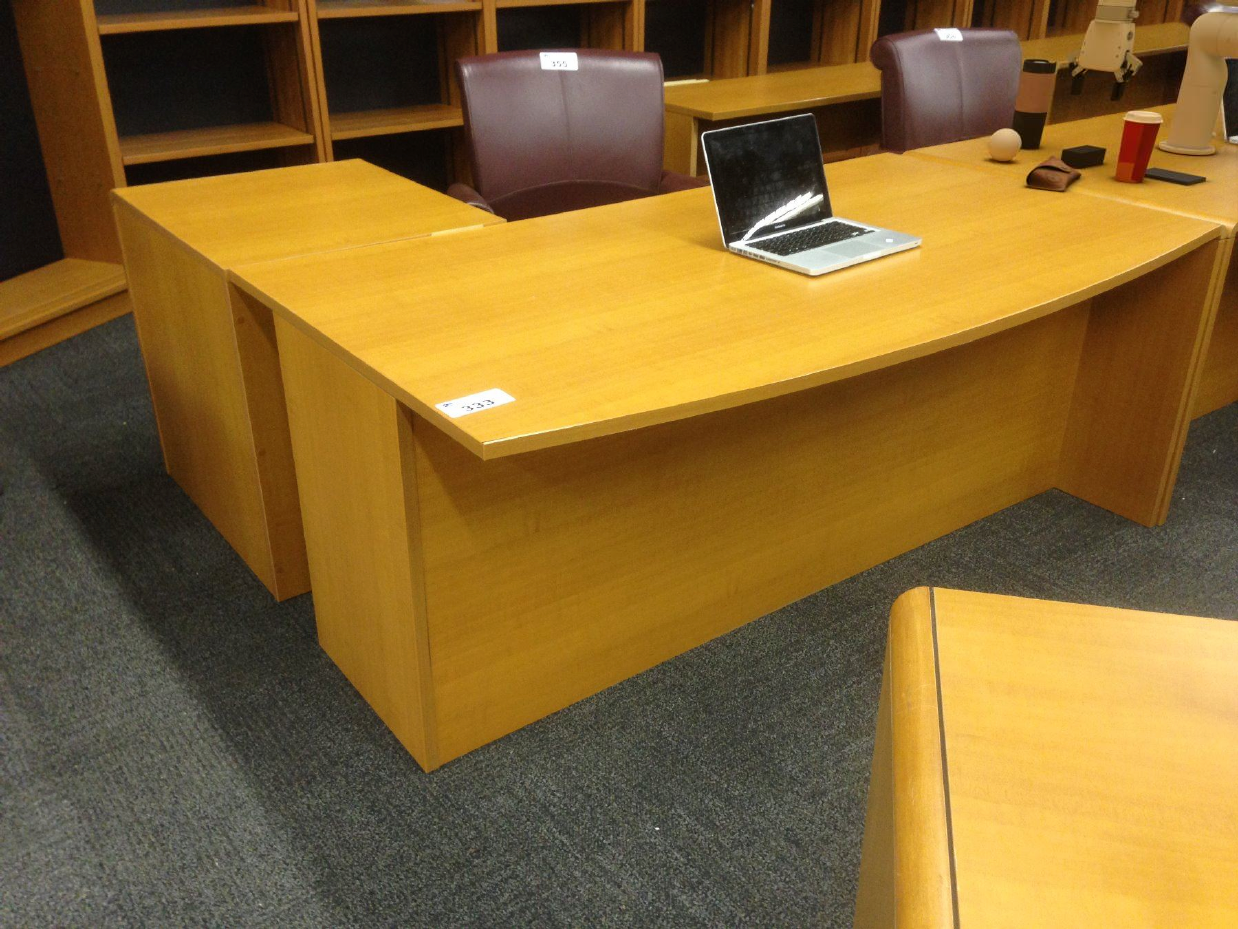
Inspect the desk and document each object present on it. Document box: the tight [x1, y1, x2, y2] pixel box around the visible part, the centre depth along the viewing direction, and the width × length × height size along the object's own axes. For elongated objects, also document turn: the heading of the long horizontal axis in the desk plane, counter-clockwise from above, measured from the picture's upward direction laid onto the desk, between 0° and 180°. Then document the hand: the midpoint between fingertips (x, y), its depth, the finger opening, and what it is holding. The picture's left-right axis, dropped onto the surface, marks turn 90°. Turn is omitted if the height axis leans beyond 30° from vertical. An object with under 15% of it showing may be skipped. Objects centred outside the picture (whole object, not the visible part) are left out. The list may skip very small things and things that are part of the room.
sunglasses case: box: [1025, 155, 1083, 192], centre depth 226 cm, size 18×7×7 cm, turn 149°
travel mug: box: [1011, 58, 1058, 150], centre depth 256 cm, size 8×8×20 cm
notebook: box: [1144, 166, 1207, 186], centre depth 232 cm, size 8×12×1 cm, turn 37°
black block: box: [1060, 144, 1107, 170], centre depth 242 cm, size 10×5×4 cm, turn 127°
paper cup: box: [1114, 110, 1164, 184], centre depth 226 cm, size 8×8×14 cm
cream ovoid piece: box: [987, 128, 1022, 162], centre depth 244 cm, size 10×7×7 cm
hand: (1095, 97), depth 236 cm, fingers open, 9 cm apart
